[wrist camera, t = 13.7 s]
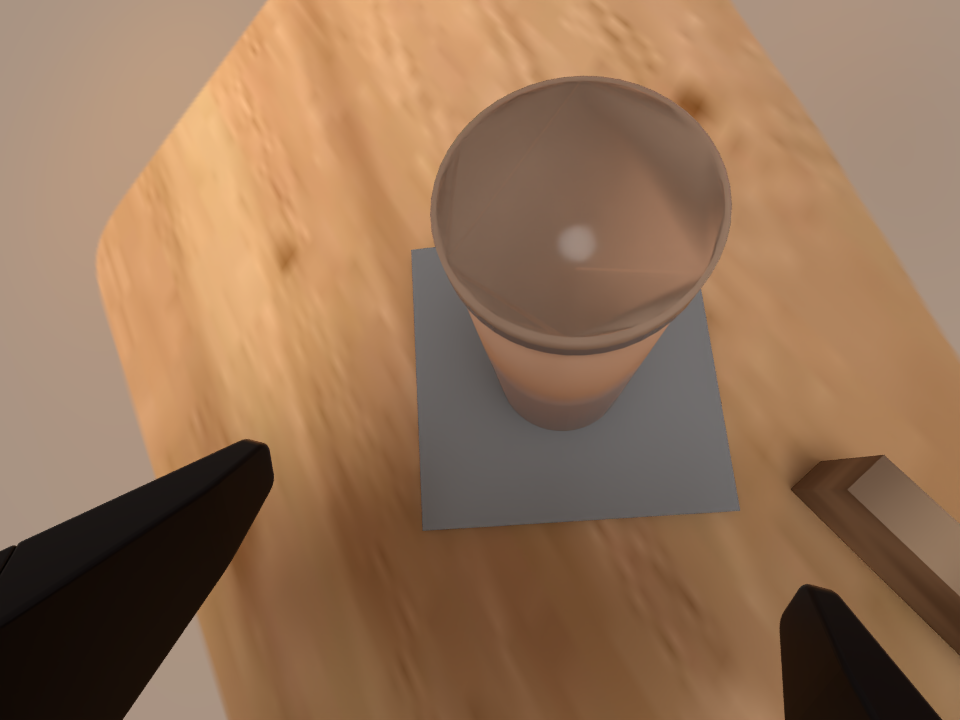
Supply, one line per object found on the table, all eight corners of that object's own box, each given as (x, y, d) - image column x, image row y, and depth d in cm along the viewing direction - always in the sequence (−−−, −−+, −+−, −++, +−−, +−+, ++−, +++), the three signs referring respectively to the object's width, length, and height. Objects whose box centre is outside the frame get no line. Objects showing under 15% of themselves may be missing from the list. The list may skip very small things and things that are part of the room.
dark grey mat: (734, 510, 21) (740, 510, 20) (426, 529, 22) (422, 530, 21) (684, 223, 23) (688, 217, 23) (414, 255, 25) (411, 250, 24)
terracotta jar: (653, 375, 21) (800, 205, 9) (554, 460, 21) (563, 407, 9) (565, 285, 23) (586, 28, 10) (471, 363, 22) (374, 196, 10)
